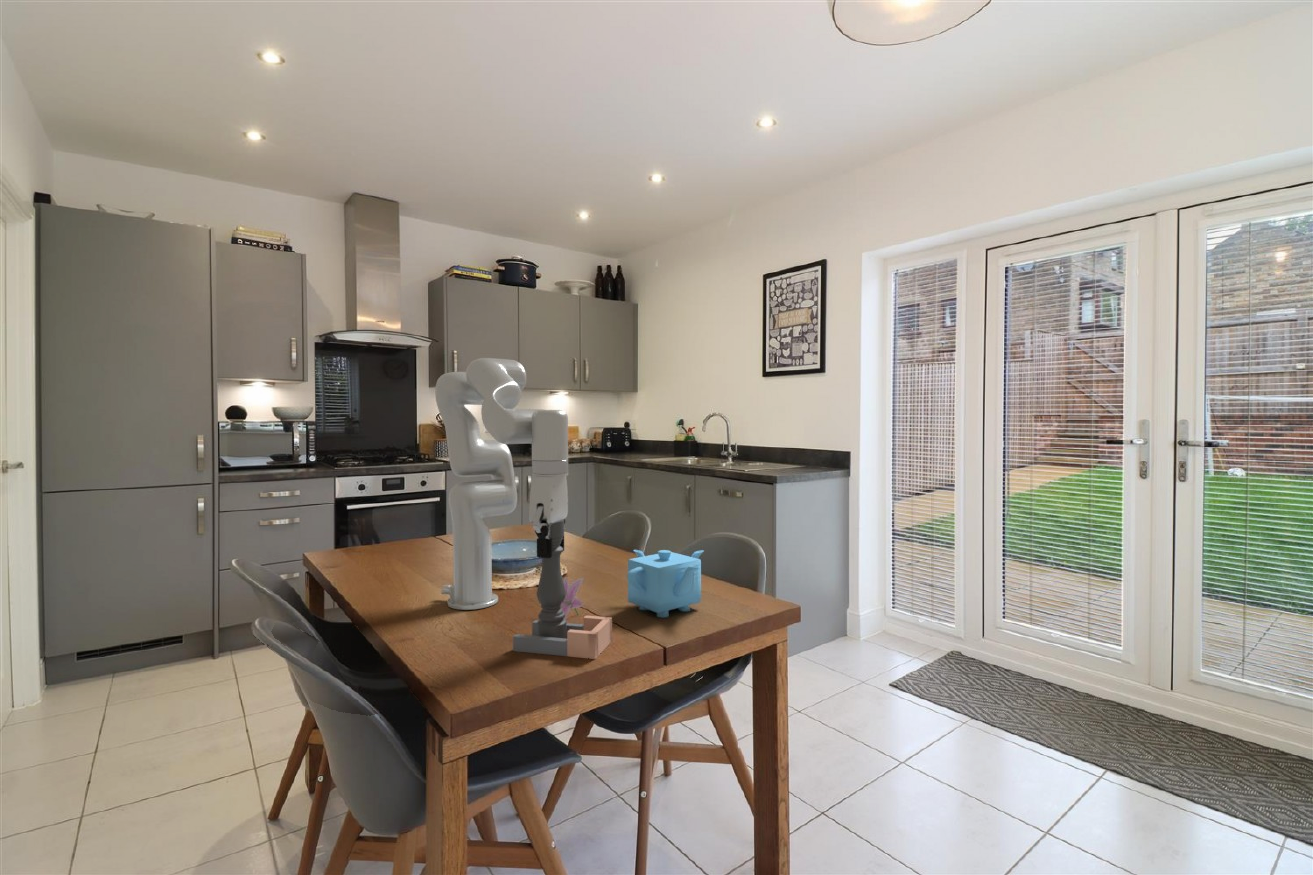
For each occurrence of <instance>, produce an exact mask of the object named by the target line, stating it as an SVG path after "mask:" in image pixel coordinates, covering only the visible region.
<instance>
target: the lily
mask: <svg viewBox="0 0 1313 875" xmlns="http://www.w3.org/2000/svg"><path fill="white" fill-rule="evenodd" d="M584 580H585V579H584V577H580V578H578V579H576V580H574V581H572V582H571V583H570V582H569V580H568V578H567V576H565V577H564V578H563V582H564V586H565V590H566V597H565V599H564V601H563V602H562V606H561V609H562V610H563V612H564V613H565V617H564V619H566V620H567V618H568V615H569V613H570V610H574V611H575V613H576V615H577V616H579V615H580V614H579V612H578V611H577V609H578V608H581V607H583V606H584V603H583V602H582V601H581V600H580V598H579V597H578V596H577V593H578V591H579V589H580V587H581V585H582V583H583V582H584Z"/></svg>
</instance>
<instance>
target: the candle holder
mask: <svg viewBox="0 0 1313 875" xmlns="http://www.w3.org/2000/svg"><path fill="white" fill-rule="evenodd" d="M541 523H547V522H546V521H543V520H542V522H541ZM564 526H565V524H564V520H563V519H562V520H560V521H558V522H555V523H553V524H552V527H551V535H550V538H552V557H551V558H541V572H540V577H539V581H538V586H537V589H536V590H537V591H536V598H537V601H538V603H539V604H540V608H542V609H541V611H539V613H538V615H537V617H538V620H539V621H538V622H537V636H543V637H553V638H564V639H566V637H567V623H568V622H567V618H566V619H564V617H565V613H564V612H563V610H562V609H561V606H562V602H563V601H564V599H565V597H566V590H565V586H564V582H563V580H564V578H563V574H562V570H561V555H562V553H564V551H563V548H562V547H561V546H560V544H561V541H562V540H563V536H564V537H565V532H564ZM542 527H544V526H542ZM544 528H545V530H546V529H547V527H544Z"/></svg>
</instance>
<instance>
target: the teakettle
mask: <svg viewBox="0 0 1313 875" xmlns="http://www.w3.org/2000/svg"><path fill="white" fill-rule="evenodd" d="M633 552H634V553H635V554H636V557H633V558H628V560H627V574H626V578H627V596H628V597H627V602H628V603H631V604H634V605H635V606H638V610H639V611H652V612H654V613H656V617H658V618H663V619H664V618H668V617H669V616H670V615H669V612H670V611H671V610H676V609H678V610H679V611H680V612H690V611H691V608H690V607H689V606H691V605H694V604H698V603H701V602H702V561H701V559H700V556H701V555H702V554H703V553H704V552H705V550H702V549H701V550H697V551H694V552H693V553H692V554H691V556H689V555H686V554H685V555H684V554H680V553H676V552H672V551H671V550H668V549H667V550H666V549H661V550H657V553H655V554H649V555H645V554H644V552H643V551H641V550H638V549H633Z"/></svg>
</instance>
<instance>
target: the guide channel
mask: <svg viewBox="0 0 1313 875" xmlns="http://www.w3.org/2000/svg"><path fill="white" fill-rule="evenodd" d="M582 620H583V623H572V622H567V637H566V639H564V638H553V637H543V636H537V622H538V621H539V619H537V620H536V619H535V620H533V621H532V622H531V625H532V626H531V627H532V628H531V629H532V630H531V631H532V635H531V634H519V633H515V635H513V636H512V651H513V652H520V653H531V654H538V655H539V654H540V655H550V656H560V657H561V656H562V657H570V658H581V659H588V658H589V659H590V660H597V658H598V657H599V656H600V655H601V654H600V653H603V652H604V650H605V649H606V648H607V647H608V646H609V645H610V644H611V642H612V641H613V617H611V616H609V617H608V616H598V615H597V616H596V615H585V616H584V617H583V618H582Z"/></svg>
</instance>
